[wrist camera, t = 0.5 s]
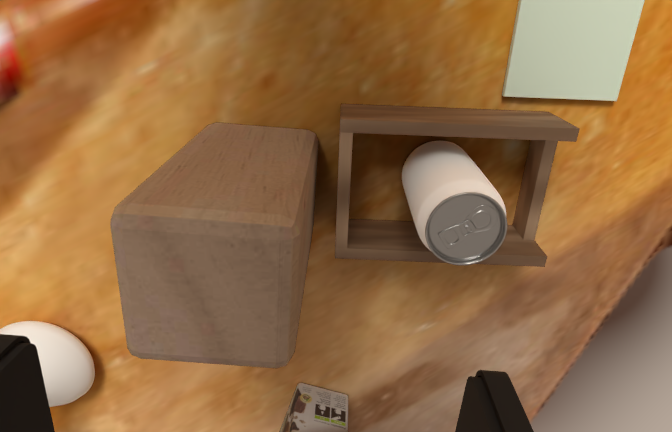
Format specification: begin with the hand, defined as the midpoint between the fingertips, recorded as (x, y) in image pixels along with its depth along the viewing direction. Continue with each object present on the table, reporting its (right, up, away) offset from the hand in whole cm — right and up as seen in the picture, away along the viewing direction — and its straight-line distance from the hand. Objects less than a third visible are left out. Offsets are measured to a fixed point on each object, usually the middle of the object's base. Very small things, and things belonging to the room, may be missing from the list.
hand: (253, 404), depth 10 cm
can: (+11, +8, +33) cm, 36 cm away
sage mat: (+21, +19, +28) cm, 40 cm away
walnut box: (+11, +8, +33) cm, 36 cm away
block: (-5, +8, +34) cm, 35 cm away
